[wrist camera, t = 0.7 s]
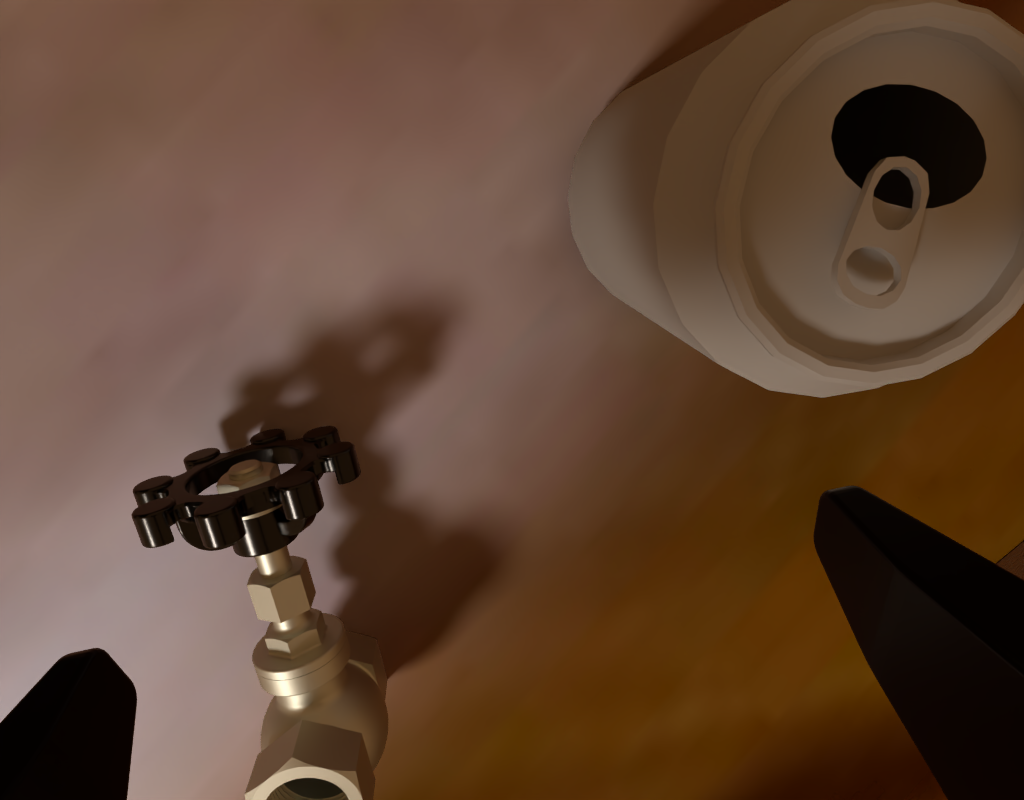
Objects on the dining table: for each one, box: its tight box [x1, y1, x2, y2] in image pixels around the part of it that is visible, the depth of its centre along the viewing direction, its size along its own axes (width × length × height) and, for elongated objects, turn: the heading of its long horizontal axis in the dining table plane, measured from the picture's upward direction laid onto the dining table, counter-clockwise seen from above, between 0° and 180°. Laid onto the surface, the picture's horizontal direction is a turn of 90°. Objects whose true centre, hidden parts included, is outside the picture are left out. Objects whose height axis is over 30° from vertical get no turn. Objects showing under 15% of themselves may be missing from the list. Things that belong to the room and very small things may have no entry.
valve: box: [132, 426, 388, 800], centre depth 23 cm, size 7×7×12 cm
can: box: [568, 0, 1024, 398], centre depth 17 cm, size 8×8×12 cm
